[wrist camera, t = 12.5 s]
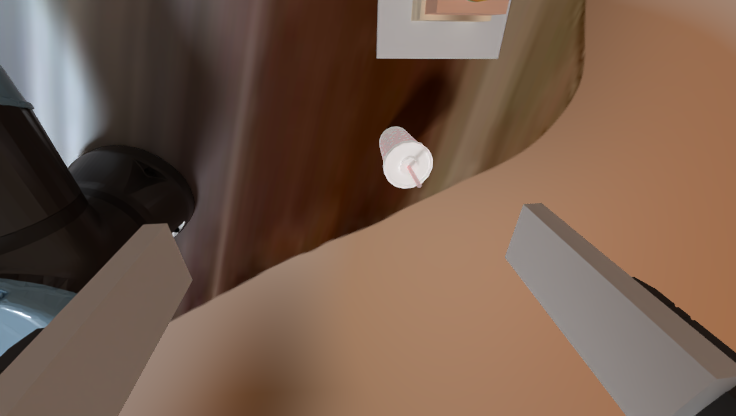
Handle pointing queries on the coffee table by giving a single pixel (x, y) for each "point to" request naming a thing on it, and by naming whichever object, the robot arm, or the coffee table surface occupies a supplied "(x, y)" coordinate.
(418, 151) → the beverage cup
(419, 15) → the tower base block
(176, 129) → the coffee table surface
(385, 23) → the tower mat
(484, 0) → the supplement bottle
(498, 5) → the tower top block
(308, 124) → the coffee table surface
